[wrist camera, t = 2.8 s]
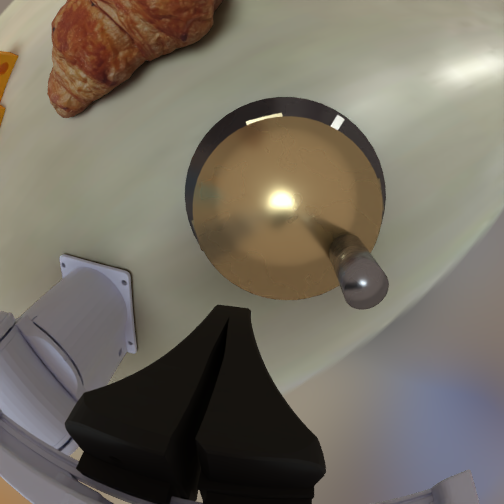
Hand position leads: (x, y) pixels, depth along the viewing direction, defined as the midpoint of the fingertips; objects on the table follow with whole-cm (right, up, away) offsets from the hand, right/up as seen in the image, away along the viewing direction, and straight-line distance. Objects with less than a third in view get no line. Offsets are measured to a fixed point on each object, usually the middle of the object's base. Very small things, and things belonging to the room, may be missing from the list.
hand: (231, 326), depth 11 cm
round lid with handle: (+3, +6, +6) cm, 9 cm away
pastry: (-7, +21, +2) cm, 22 cm away
